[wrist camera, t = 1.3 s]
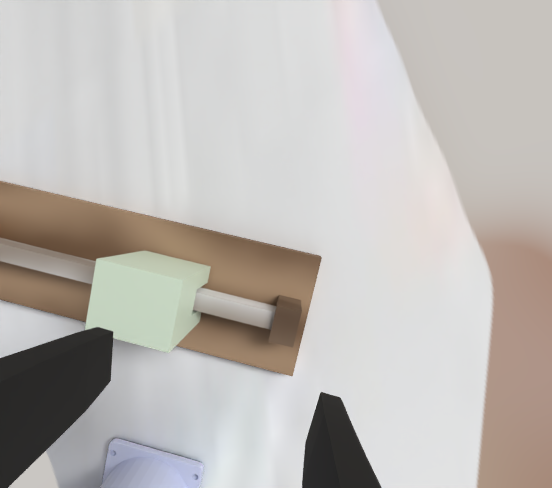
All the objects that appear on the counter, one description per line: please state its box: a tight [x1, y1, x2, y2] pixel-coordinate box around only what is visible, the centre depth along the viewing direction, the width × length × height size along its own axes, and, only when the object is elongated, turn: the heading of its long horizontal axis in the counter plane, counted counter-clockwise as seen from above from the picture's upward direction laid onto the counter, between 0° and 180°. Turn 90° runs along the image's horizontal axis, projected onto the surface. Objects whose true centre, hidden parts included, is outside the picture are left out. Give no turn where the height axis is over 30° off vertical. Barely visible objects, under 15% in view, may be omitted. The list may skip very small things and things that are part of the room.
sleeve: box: [85, 251, 211, 353], centre depth 16 cm, size 4×5×4 cm
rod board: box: [0, 181, 321, 376], centre depth 18 cm, size 9×28×4 cm, turn 77°
